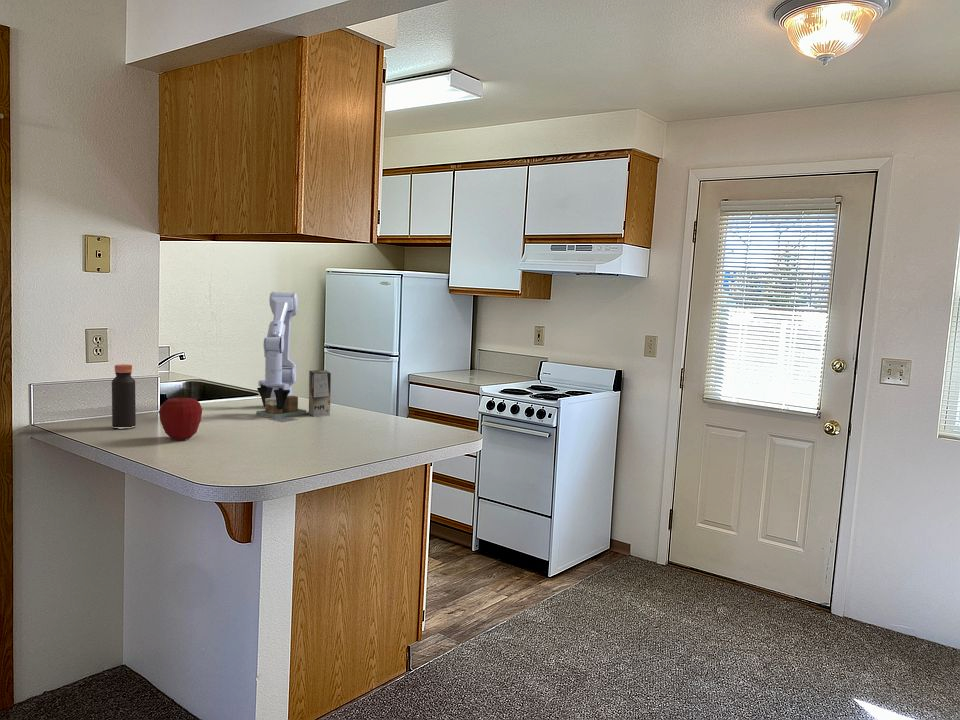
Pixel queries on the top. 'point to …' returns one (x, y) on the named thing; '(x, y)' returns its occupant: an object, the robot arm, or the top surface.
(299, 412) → the tray
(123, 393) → the bottle
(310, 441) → the top surface
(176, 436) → the apple
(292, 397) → the plain block
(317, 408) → the coffee box
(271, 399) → the labelled block
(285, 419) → the mat
